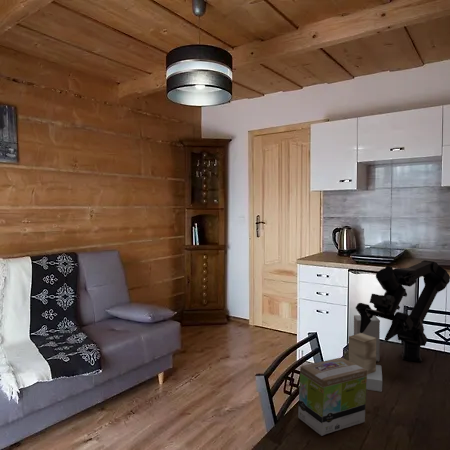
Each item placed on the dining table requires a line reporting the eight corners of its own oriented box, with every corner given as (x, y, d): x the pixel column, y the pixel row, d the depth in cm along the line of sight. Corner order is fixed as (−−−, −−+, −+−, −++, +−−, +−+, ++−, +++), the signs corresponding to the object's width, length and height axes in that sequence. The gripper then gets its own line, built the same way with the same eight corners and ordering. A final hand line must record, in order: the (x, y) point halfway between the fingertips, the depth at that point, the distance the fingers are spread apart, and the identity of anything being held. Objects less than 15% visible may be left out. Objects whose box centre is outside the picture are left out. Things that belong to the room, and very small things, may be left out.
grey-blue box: (343, 371, 139) (344, 360, 138) (381, 377, 135) (381, 365, 134) (341, 386, 127) (341, 374, 127) (381, 393, 123) (382, 380, 123)
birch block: (360, 364, 135) (360, 332, 134) (375, 371, 130) (376, 338, 129) (348, 369, 131) (348, 336, 131) (363, 375, 126) (364, 342, 126)
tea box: (322, 438, 99) (323, 380, 98) (297, 418, 108) (298, 365, 107) (366, 422, 106) (368, 368, 105) (339, 405, 115) (340, 355, 114)
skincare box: (375, 355, 152) (376, 315, 151) (380, 362, 146) (381, 320, 145) (352, 354, 153) (353, 314, 152) (356, 361, 147) (357, 319, 146)
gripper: (359, 280, 143) (339, 316, 137) (410, 290, 128) (390, 330, 122) (371, 298, 148) (352, 333, 142) (421, 310, 133) (402, 349, 128)
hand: (372, 336), depth 133 cm, fingers open, 9 cm apart
